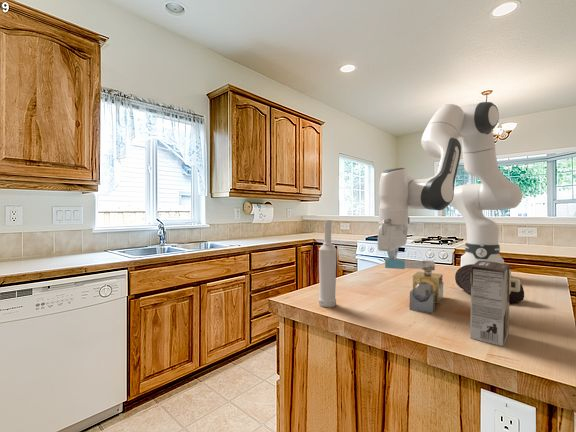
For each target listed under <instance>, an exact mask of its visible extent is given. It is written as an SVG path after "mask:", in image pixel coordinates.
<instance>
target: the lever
mask: <svg viewBox="0 0 576 432" xmlns="http://www.w3.org/2000/svg"><path fill="white" fill-rule="evenodd" d="M435 262H436V261H433V260H423V259H422V260H407V259H404V258H397V259H389V257H388V258H387V257H386V258H384V268H385V269H394V270H395V269H396V270H405V269H415V270H417V269H419V270H421V271H422V270H423V271H424V270H429V271H432V272H433V271H435V269H436V268H435V266H436V263H435Z"/></svg>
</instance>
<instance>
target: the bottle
mask: <svg viewBox="0 0 576 432" xmlns="http://www.w3.org/2000/svg"><path fill="white" fill-rule="evenodd" d="M323 225H324V237H323V239H324V241H323V243H322V245H321V246H320V247H319V248H318V273H319V276H318V277H319V278H318V280H319V283H318V284H319V289H318V291H319V298H318V304H319V306H320V307H323V308H334V307H336V305H337V298H336V284H337V283H336V282H337V281H336V280H337V252H338V251H337V249H338V248H336V247H335V246H334V245H333V243H332V220H331V219H325V220H324V224H323Z"/></svg>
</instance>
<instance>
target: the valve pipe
mask: <svg viewBox="0 0 576 432" xmlns="http://www.w3.org/2000/svg"><path fill="white" fill-rule="evenodd" d="M442 299H444V281H443V274H442V273H434V272H433V270H432V271H429V270H423V271H417V272H416V273H414V274H412V289H411V290H410V291H409V310H411V311H416V312H421V313H426V314H432V315H433V314H434V312H435V310H436V309H435V307H436V306H435V305H436V303H437V304H439V303H440V301H441V300H442Z"/></svg>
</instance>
